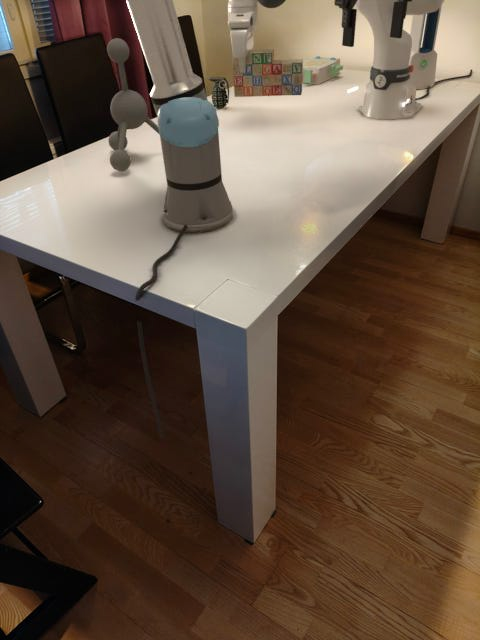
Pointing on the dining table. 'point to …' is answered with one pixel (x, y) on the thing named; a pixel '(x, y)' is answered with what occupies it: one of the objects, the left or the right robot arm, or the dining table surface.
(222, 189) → the left robot arm
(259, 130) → the dining table surface
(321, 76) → the decorative block
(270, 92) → the stack of blocks
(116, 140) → the molecular model
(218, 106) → the grenade
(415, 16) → the electronic device
